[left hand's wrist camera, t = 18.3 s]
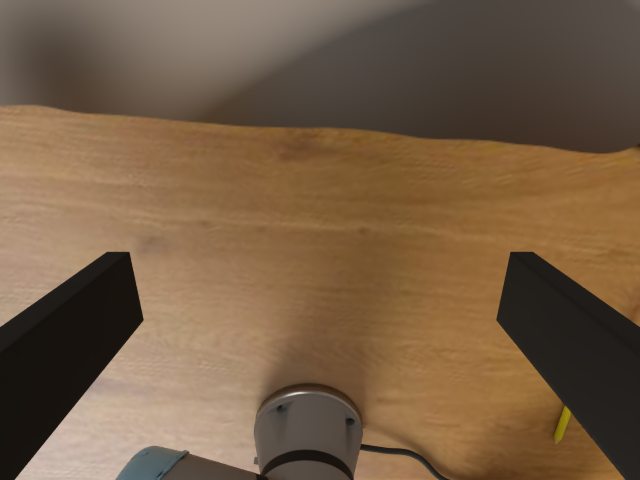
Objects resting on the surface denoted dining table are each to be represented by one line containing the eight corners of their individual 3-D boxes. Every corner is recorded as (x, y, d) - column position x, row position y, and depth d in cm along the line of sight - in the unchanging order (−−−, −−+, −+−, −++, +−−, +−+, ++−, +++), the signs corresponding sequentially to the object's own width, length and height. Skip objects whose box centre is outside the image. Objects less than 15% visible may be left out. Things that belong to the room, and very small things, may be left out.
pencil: (582, 350, 47) (587, 355, 46) (590, 350, 47) (595, 355, 46) (549, 441, 53) (553, 447, 52) (556, 441, 53) (560, 447, 52)
